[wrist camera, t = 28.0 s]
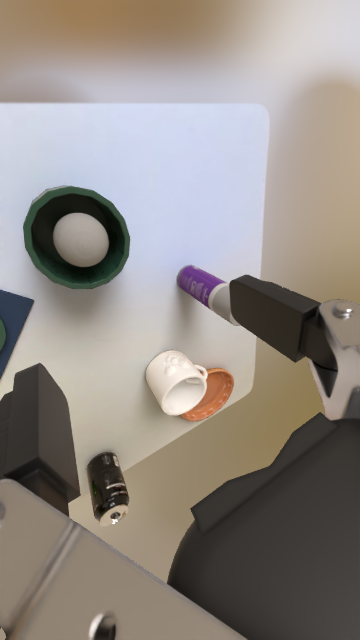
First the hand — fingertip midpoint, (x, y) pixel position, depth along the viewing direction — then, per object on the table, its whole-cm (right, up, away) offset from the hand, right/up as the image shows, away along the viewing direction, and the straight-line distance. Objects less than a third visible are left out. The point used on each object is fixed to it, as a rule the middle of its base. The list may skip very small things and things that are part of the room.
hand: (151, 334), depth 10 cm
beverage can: (-17, -32, +45) cm, 58 cm away
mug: (-1, -9, +41) cm, 42 cm away
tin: (-13, +12, +22) cm, 28 cm away
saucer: (+7, -17, +51) cm, 54 cm away
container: (+3, +8, +34) cm, 35 cm away
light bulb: (-13, +12, +21) cm, 28 cm away
